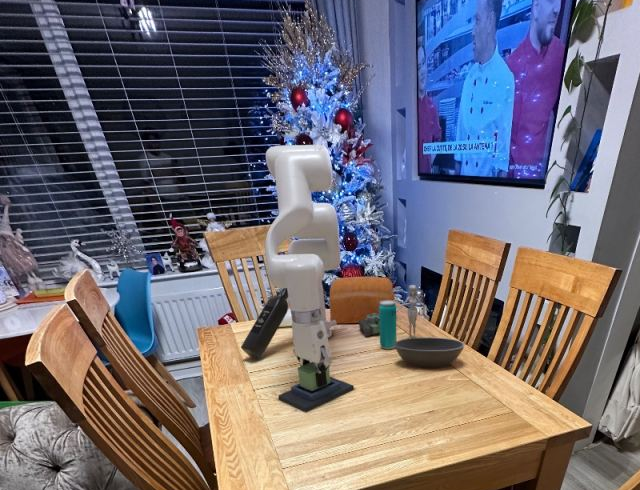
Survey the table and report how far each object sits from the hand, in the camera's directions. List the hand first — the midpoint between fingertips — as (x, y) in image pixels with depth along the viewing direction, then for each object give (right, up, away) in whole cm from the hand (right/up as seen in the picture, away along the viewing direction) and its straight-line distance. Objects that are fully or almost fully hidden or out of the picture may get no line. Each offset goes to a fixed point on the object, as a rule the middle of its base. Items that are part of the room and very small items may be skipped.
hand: (315, 382), depth 120 cm
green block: (0, -1, 0) cm, 1 cm away
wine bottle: (-25, +15, +22) cm, 37 cm away
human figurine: (+30, +26, +37) cm, 54 cm away
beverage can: (+21, +20, +30) cm, 42 cm away
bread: (+11, +41, +57) cm, 71 cm away
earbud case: (-20, +38, +54) cm, 69 cm away
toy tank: (+16, +31, +44) cm, 56 cm away
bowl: (+34, +11, +18) cm, 40 cm away
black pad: (0, -3, +2) cm, 4 cm away
